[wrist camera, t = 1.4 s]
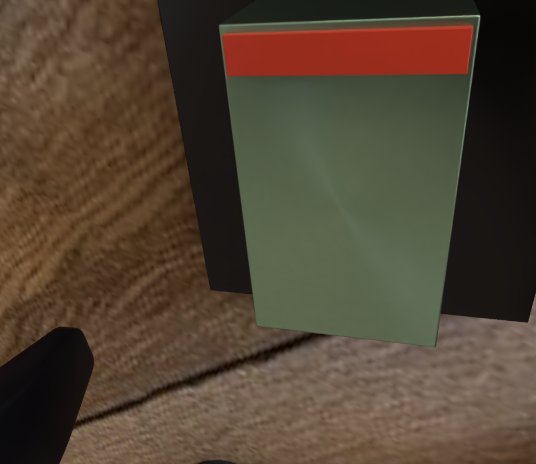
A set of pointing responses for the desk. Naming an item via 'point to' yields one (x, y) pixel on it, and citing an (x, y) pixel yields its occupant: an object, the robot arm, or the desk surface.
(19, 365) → the robot arm
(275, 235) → the box
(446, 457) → the desk surface
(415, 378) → the desk surface
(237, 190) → the black square platform
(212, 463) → the travel mug
